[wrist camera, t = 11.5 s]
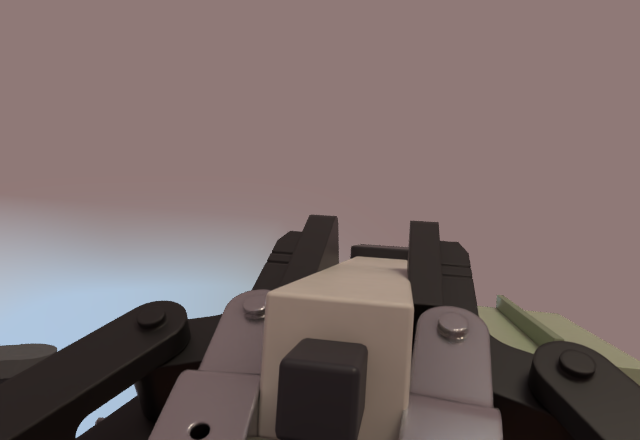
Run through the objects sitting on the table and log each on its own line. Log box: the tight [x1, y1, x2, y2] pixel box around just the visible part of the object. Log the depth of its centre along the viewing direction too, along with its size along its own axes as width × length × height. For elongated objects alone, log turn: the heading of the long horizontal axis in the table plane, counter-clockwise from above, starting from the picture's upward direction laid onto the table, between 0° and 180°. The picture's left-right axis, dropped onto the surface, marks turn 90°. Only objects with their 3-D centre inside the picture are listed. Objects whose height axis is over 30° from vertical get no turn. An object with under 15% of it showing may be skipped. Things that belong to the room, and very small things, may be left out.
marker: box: [258, 244, 414, 440], centre depth 13 cm, size 17×2×2 cm, turn 170°
